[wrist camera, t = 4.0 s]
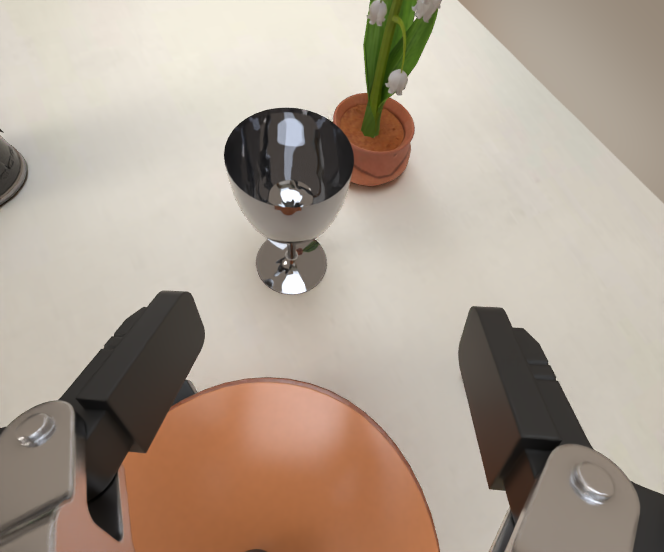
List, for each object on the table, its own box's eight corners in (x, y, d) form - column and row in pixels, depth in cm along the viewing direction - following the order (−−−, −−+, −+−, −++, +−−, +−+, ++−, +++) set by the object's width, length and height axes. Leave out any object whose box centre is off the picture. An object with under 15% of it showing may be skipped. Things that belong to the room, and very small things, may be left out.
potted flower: (421, 200, 39) (599, -109, 16) (338, 213, 37) (409, -118, 14) (390, 125, 44) (496, -202, 21) (314, 133, 42) (340, -218, 19)
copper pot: (242, 761, 20) (144, 1424, 7) (106, 478, 25) (-107, 541, 12) (433, 544, 26) (586, 676, 12) (290, 346, 31) (288, 285, 17)
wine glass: (326, 226, 36) (345, 107, 23) (334, 295, 33) (363, 205, 20) (251, 229, 35) (224, 106, 22) (252, 301, 32) (222, 210, 18)
